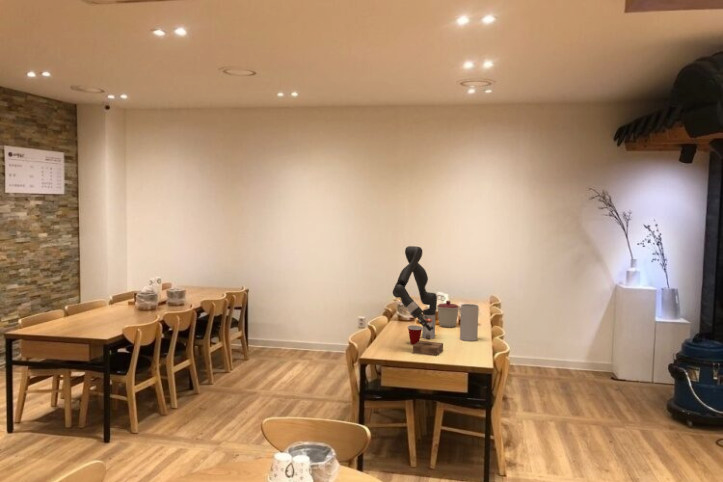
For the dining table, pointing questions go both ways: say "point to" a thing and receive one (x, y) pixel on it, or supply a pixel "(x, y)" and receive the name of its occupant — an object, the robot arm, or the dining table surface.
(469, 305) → the cylinder vase
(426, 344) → the block
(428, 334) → the lynch pin
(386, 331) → the dining table surface
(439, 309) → the canister
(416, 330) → the plastic cup
